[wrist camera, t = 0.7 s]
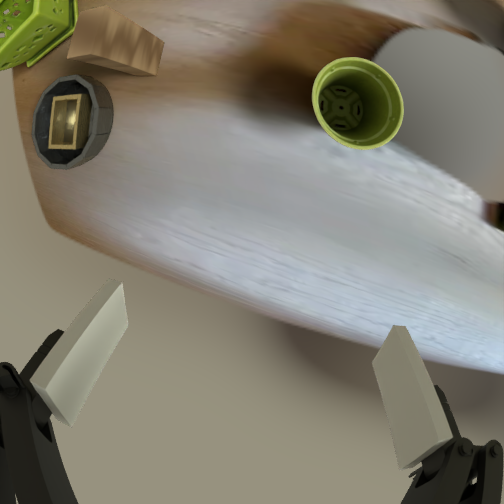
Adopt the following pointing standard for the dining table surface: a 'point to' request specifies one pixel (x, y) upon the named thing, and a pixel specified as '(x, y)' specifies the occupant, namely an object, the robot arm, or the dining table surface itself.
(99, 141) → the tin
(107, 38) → the wooden slab
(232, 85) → the dining table surface
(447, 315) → the dining table surface
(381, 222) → the dining table surface
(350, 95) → the plant pot
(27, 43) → the flower pot
